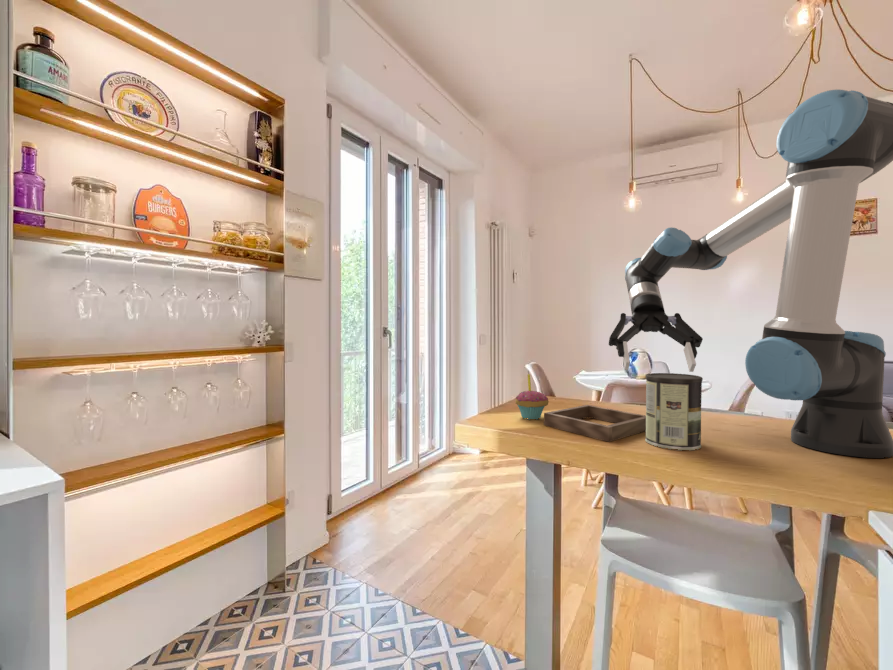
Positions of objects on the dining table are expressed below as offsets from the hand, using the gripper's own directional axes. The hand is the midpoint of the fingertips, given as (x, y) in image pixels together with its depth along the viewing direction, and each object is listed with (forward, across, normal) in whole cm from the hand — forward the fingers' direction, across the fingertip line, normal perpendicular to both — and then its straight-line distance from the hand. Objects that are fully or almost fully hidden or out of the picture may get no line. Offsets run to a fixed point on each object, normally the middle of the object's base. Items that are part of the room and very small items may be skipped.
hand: (659, 367), depth 95 cm
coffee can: (+17, 0, -4) cm, 18 cm away
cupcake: (+5, +29, -16) cm, 33 cm away
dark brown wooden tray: (+10, +13, -11) cm, 20 cm away
